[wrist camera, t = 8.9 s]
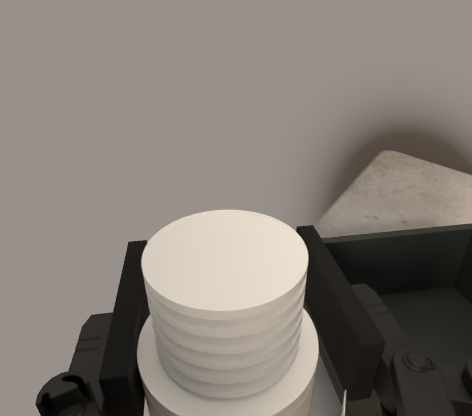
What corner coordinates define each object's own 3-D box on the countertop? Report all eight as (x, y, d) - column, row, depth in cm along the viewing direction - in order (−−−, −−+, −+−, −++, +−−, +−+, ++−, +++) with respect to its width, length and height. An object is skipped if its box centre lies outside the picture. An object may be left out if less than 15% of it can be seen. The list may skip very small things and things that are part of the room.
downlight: (336, 396, 17) (374, 211, 12) (318, 604, 11) (379, 411, 6) (182, 352, 19) (160, 182, 14) (98, 505, 13) (10, 305, 8)
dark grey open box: (384, 507, 21) (414, 432, 17) (299, 304, 35) (305, 239, 31) (628, 459, 23) (704, 382, 19) (452, 286, 37) (476, 222, 33)
